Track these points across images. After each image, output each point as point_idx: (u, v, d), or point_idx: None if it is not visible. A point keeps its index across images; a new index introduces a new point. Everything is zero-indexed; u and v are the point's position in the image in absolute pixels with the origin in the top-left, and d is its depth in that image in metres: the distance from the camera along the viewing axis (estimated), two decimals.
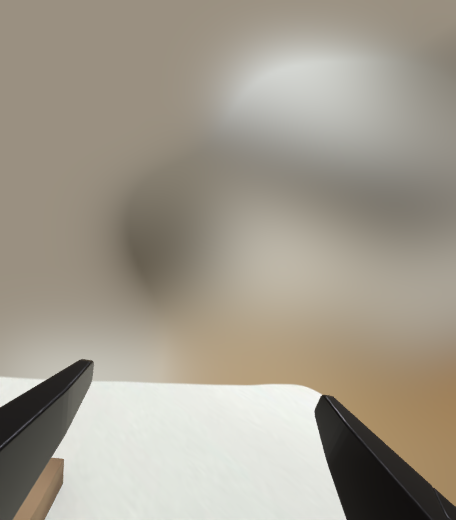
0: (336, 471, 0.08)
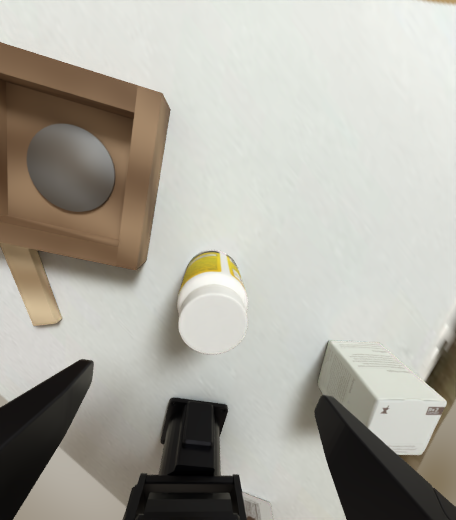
0: (336, 471, 0.08)
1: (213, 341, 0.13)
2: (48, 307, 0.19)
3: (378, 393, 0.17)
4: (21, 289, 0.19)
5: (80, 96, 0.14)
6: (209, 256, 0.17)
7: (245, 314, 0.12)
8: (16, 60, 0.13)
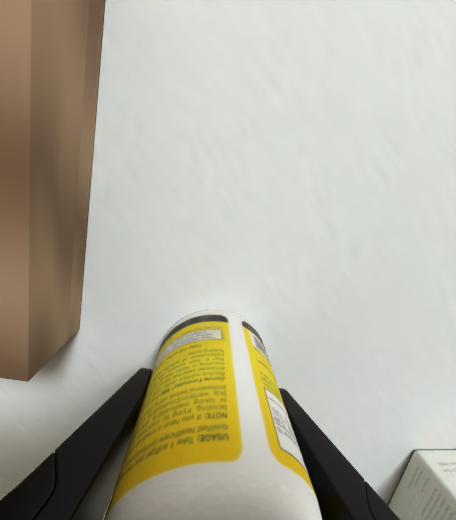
0: None
1: None
2: None
3: None
4: None
5: None
6: (206, 344, 0.07)
7: None
8: None
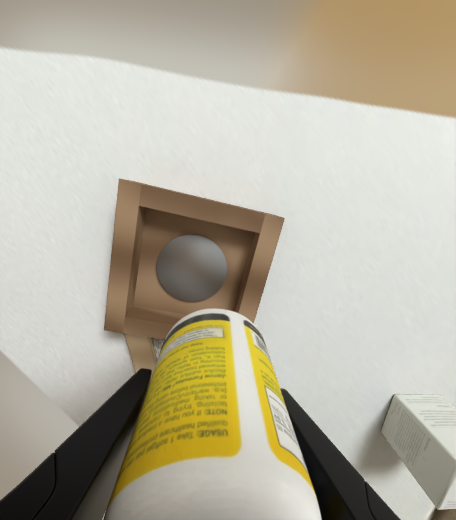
0: None
1: None
2: None
3: None
4: (135, 363, 0.22)
5: (217, 223, 0.16)
6: (207, 342, 0.07)
7: None
8: (171, 200, 0.16)
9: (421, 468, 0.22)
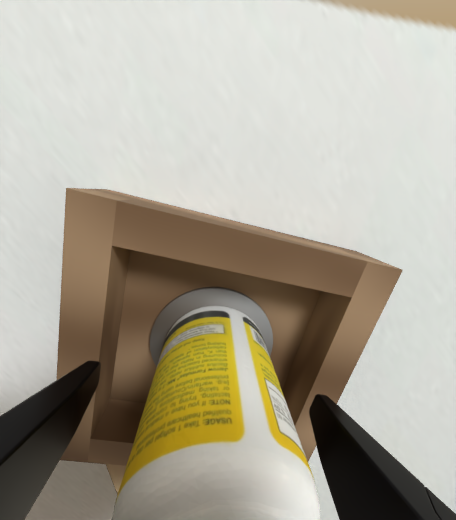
0: (329, 470, 0.07)
1: None
2: None
3: None
4: (115, 479, 0.13)
5: (271, 278, 0.08)
6: (209, 337, 0.08)
7: None
8: (181, 235, 0.07)
9: None
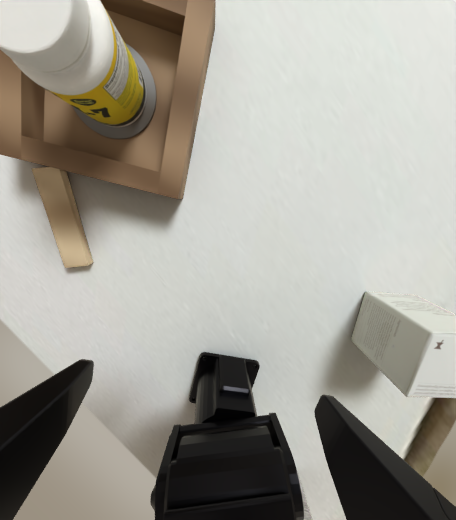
0: (336, 471, 0.08)
1: (16, 20, 0.08)
2: (80, 246, 0.19)
3: (431, 328, 0.16)
4: (54, 227, 0.18)
5: None
6: None
7: None
8: None
9: (390, 359, 0.19)
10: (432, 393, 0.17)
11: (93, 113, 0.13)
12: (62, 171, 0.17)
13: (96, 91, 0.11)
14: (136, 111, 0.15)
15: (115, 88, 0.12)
